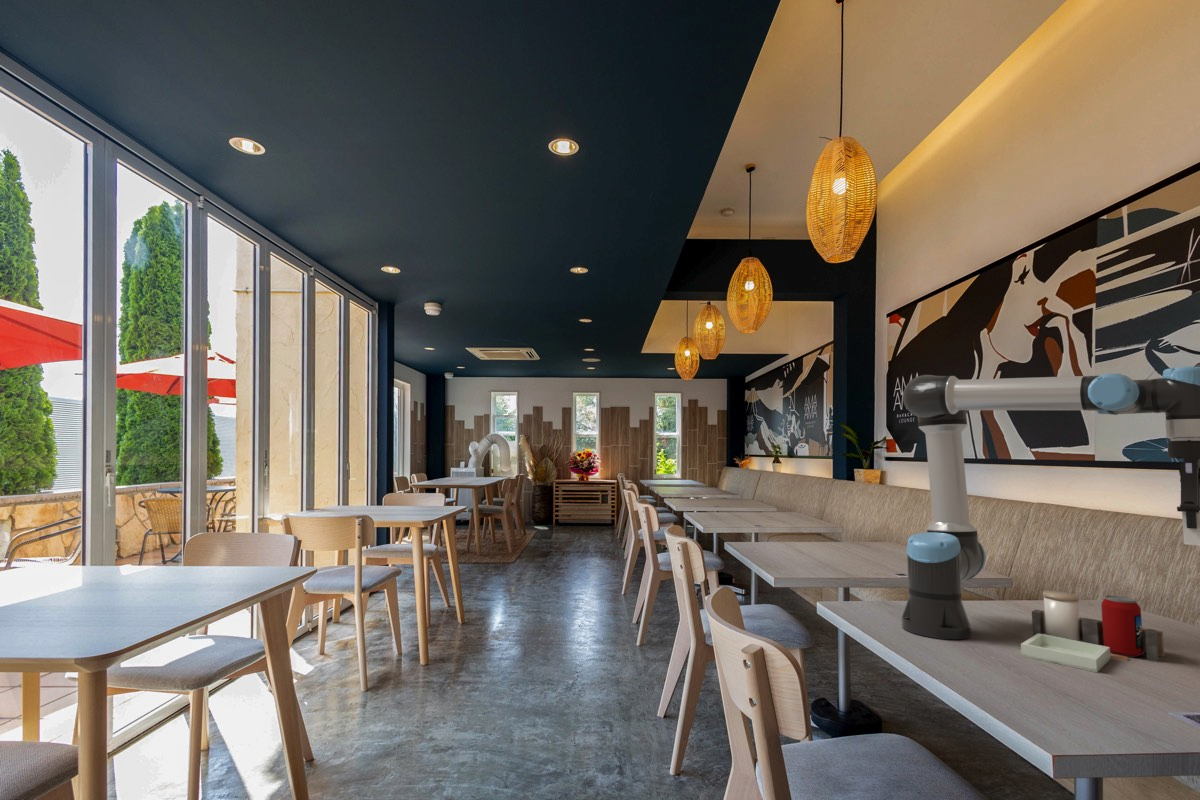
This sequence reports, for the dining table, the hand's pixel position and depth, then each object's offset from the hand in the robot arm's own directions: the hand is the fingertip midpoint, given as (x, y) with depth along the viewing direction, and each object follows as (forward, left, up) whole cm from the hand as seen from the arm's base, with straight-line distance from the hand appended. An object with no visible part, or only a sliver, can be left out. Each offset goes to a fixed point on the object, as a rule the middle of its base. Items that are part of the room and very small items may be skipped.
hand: (1197, 542), depth 127 cm
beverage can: (-13, +1, -26) cm, 29 cm away
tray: (-21, -13, -26) cm, 36 cm away
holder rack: (-19, +1, -26) cm, 32 cm away
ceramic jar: (-24, +1, -26) cm, 36 cm away
